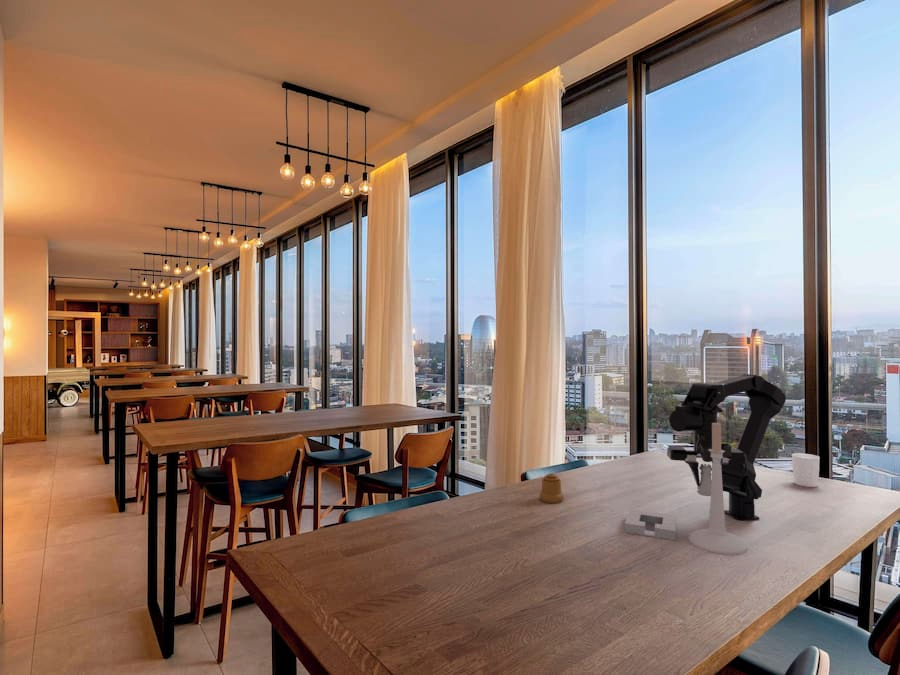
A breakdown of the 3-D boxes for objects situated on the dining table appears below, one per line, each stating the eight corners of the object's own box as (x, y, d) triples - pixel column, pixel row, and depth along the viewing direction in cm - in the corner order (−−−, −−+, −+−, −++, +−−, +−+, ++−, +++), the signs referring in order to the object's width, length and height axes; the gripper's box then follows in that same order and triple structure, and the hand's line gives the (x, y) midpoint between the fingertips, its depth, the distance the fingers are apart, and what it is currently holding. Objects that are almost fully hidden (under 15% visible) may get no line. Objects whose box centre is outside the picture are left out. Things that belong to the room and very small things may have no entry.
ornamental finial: (554, 495, 158) (568, 502, 151) (534, 498, 155) (547, 505, 148) (554, 470, 158) (568, 476, 151) (534, 472, 155) (547, 479, 148)
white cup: (786, 482, 172) (786, 454, 172) (800, 480, 175) (800, 452, 175) (811, 488, 164) (811, 459, 165) (825, 486, 168) (824, 456, 168)
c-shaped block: (629, 517, 138) (629, 509, 138) (676, 524, 132) (676, 515, 133) (624, 532, 127) (624, 523, 127) (675, 540, 122) (675, 530, 122)
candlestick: (676, 537, 124) (676, 419, 124) (714, 530, 128) (713, 416, 129) (720, 558, 112) (719, 427, 112) (760, 549, 116) (759, 424, 117)
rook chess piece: (719, 496, 132) (719, 466, 132) (705, 497, 131) (704, 467, 131) (706, 491, 136) (706, 462, 136) (693, 492, 135) (693, 463, 135)
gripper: (675, 433, 128) (675, 492, 128) (754, 436, 124) (754, 497, 124) (666, 426, 139) (666, 480, 139) (739, 428, 135) (739, 485, 135)
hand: (705, 486), depth 134 cm, fingers closed on rook chess piece, 3 cm apart
